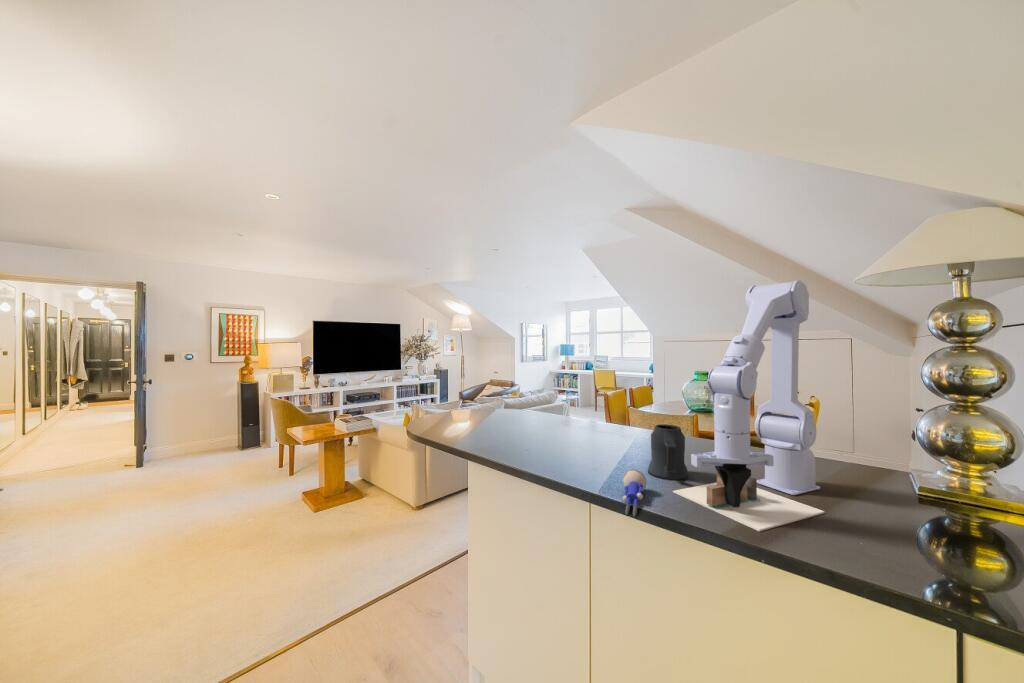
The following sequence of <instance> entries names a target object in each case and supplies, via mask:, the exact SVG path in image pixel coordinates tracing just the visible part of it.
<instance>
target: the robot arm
mask: <svg viewBox="0 0 1024 683" xmlns="http://www.w3.org/2000/svg"><path fill="white" fill-rule="evenodd" d="M809 304H810V293H809V291H808V288H807V285H806V284H805V282H803V281H802V280H800V279H797V280H794V281H787V282H778V283H772V284H771V283H770V284H762V285H751V286H750V287H749V288H748V290H747V291H746V293H745V305H746V306H745V307H746V309H747V315H746V318H745V322H744V324H743V327H742V331H741V333H740V334H738V335H736V336H734V337H732V338H731V341H730V343H729V345H728V347H727V350H726V352H725V353H724V355H723V358H722V360H721V362H720V364H719V365H717V366H715V367H712V368H711V369H710V371H709V373H708V375H707V380H706V387H707V389H708V392H709V394H710V402H711V404H712V405H713V423H714V424H713V426H714V427H713V428H714V429H713V431H714V432H713V434H714V436H713V437H714V442H713V444H714V451H708V452H701V453H700V452H699V453H691V455H690V462H691V463H690V464H691V466H693V467H695V468H700V469H701V468H703V467H714V468H715V470H716V472H717V471H718V473H719V475H720V477H721V479H722V481H723V484H724V487H725V499H726V503H727V504H729V505H730V506H732V507H740V494H741V491H742V489H743V487H744V485H745V483H746V482H747V480H748V479H749V477H752V469H750V468H748V467H747V466H764V478H761V479H756V480H757V485H758V484H759V485H762V486H764V487H768V488H770V489H774V490H777V491H780V492H782V493H786V494H789V495H791V496H796V495H800V494H804V493H808V492H812V491H813V492H814V491H816V490H821V486H819V485H816V457H815V455H814V453H813V451H812V450H811V449H810V448H811V447H812V446H813V445H815V442H816V440H817V425H816V423H815V422H816V420H815V414H814V411H813V410H811V409H810V408H809V407H808V406H806V405H804V404H803V403H802V402H800V400H799V395H798V394H799V342H800V340H799V335H800V334H799V333H800V325H801V324H802V323H804V322H807V321H808V320H809V318H808V317H809V316H808V315H809V314H810V310H809V309H810V305H809ZM769 328H770V330H771V336H770V337H771V340H770V341H771V342H770V385H769V386H770V387H769V388H770V389H769V390H770V393H769V394H770V395H769V396H770V397H769V400H767V401H765V402H763V403H762V404H760V405H759V406H758V407H757V413H756V418H755V421H754V431H755V434H756V436H757V437H758V439H759V440H761V441H760V442H761V443H762V444H764V452H755V451H754V452H752V451H751V401H750V400H751V398H753V397H754V395H755V393H756V390H757V387H758V386H757V384H758V383H757V381H758V374H759V372H758V370H757V368H758V366H759V364H760V362H761V359H762V357H763V355H764V352H765V349H766V347H765V344H764V342H763V341H762V340H763V338H764V337H765V335H766V333H767V332H768V330H769Z"/></svg>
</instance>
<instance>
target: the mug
mask: <svg viewBox="0 0 1024 683" xmlns="http://www.w3.org/2000/svg"><path fill="white" fill-rule="evenodd" d="M650 448H651V450H650V451H651V460H650V461H649V464H648V469H647V473H648V475H650V476H652V477H653V478H656V479H659V480H665V481H671V482H673V481H676V482H677V481H679V482H680V481H685V480H688V479H689V472H688V467H687V465H686V464H685V450H686V436H685V434H684V433H683V432H682V428H681V427H680V426H678V425H674V424H665V423H664V424H656V425H654V429H653V431H652V432H651V433H650Z"/></svg>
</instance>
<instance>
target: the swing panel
mask: <svg viewBox="0 0 1024 683" xmlns="http://www.w3.org/2000/svg"><path fill="white" fill-rule="evenodd" d="M746 499H747V482H746V483H745V485H744V487H743V489H742V491H741V494H740V501H741V500H746ZM707 504H708V505H710V506H716V505H721V504H726V499H725V487H724V484H719V485H714V486H708V487H707Z"/></svg>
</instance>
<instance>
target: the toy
mask: <svg viewBox="0 0 1024 683" xmlns="http://www.w3.org/2000/svg"><path fill="white" fill-rule="evenodd" d="M622 481H623V482H622V483H623V486H624V495H623V496H622V500H623V502H625V503H626V504H625V510H624V514H625V515H626V516H629V514H630V509H631V508H630V507H631V505H632V506H633V507H632V516H633V517H634V518H635V517H637V515H638V501H639V500H642V499H643V498H644V495H643V494H642V493H643V492H644V490H645V489H646V487H647V478H646V476H645V474H643V472H641V471H640V470H637V469H629V470H627V471H626V472H625V473H624V475H623V480H622Z"/></svg>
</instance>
